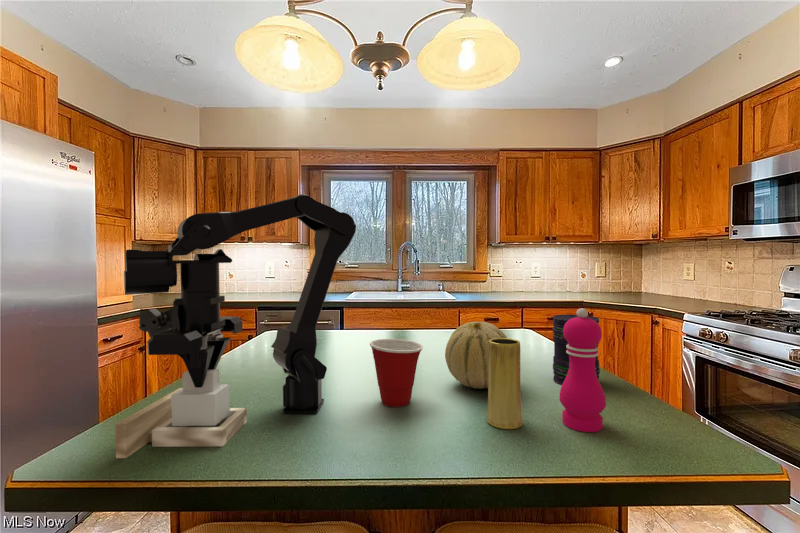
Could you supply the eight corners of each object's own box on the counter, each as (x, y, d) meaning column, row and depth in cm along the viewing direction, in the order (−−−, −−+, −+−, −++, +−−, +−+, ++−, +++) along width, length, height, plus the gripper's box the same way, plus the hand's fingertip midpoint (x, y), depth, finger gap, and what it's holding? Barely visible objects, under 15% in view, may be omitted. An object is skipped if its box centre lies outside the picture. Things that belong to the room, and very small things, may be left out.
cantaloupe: (497, 375, 94) (497, 314, 94) (524, 396, 80) (523, 324, 79) (438, 378, 93) (438, 316, 92) (454, 400, 78) (454, 326, 78)
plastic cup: (427, 411, 72) (426, 348, 72) (369, 413, 72) (368, 349, 72) (421, 391, 83) (420, 336, 83) (371, 393, 83) (370, 337, 82)
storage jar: (606, 390, 83) (606, 321, 83) (558, 388, 85) (558, 320, 84) (591, 376, 93) (591, 314, 93) (548, 374, 94) (548, 314, 94)
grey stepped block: (229, 413, 66) (228, 367, 66) (215, 425, 61) (214, 375, 61) (189, 413, 66) (188, 367, 66) (172, 425, 61) (170, 376, 61)
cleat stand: (254, 414, 72) (254, 387, 72) (211, 458, 56) (210, 423, 56) (180, 414, 72) (179, 387, 72) (116, 458, 56) (115, 424, 56)
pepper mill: (612, 435, 62) (612, 311, 61) (564, 432, 63) (564, 310, 63) (598, 417, 69) (598, 306, 68) (555, 414, 70) (555, 305, 70)
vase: (526, 419, 68) (526, 339, 68) (518, 433, 63) (517, 346, 63) (492, 412, 71) (492, 336, 71) (482, 425, 66) (481, 342, 66)
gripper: (184, 287, 73) (186, 369, 73) (108, 297, 54) (111, 406, 55) (242, 286, 73) (244, 368, 73) (186, 296, 54) (189, 406, 54)
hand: (202, 384), depth 64 cm, fingers closed on grey stepped block
